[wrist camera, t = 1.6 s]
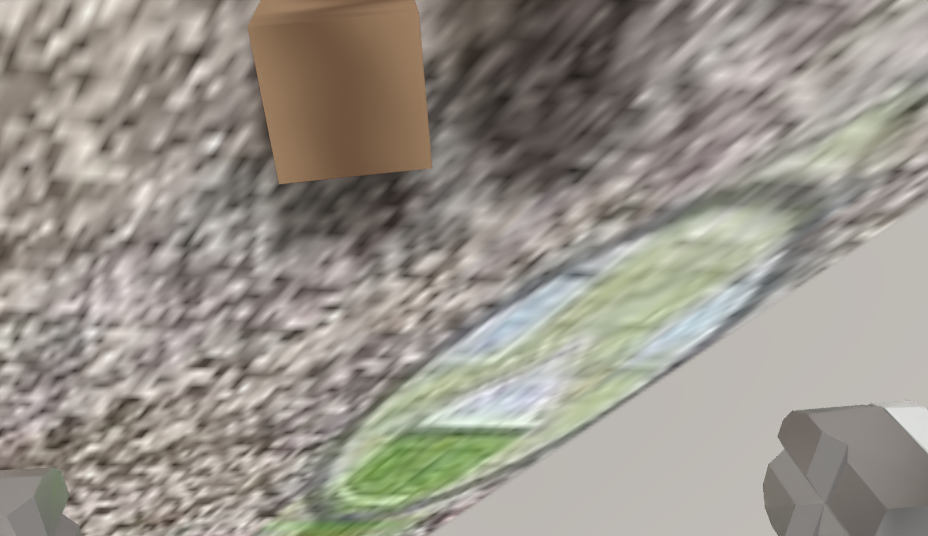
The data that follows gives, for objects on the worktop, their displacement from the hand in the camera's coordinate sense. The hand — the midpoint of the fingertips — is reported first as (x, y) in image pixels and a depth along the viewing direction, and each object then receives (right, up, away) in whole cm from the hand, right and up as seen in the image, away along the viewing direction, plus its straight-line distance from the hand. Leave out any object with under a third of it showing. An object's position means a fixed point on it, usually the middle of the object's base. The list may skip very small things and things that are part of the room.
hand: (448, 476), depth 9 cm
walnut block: (-4, +10, +21) cm, 24 cm away
